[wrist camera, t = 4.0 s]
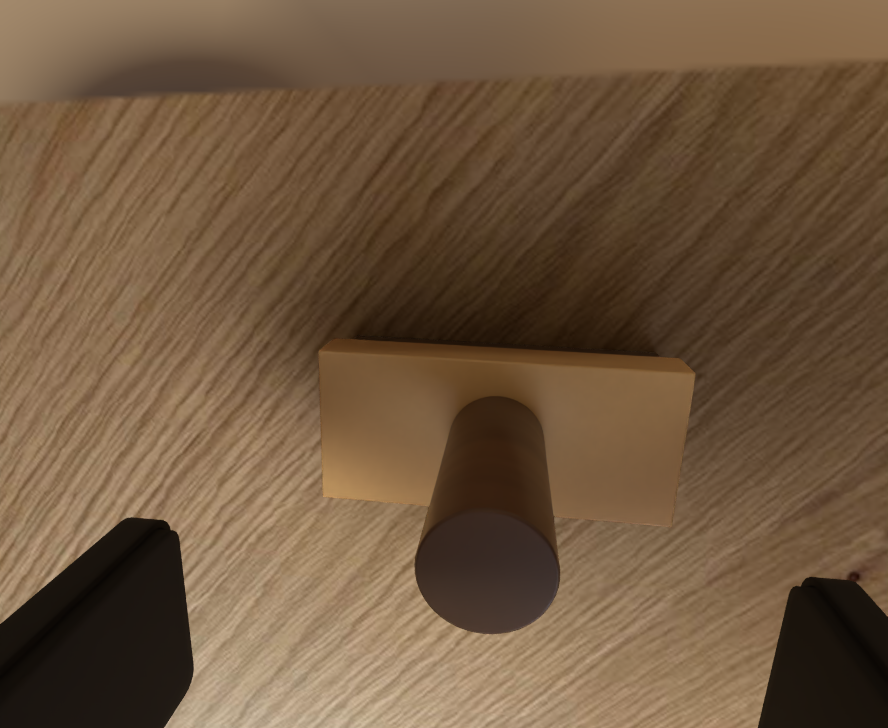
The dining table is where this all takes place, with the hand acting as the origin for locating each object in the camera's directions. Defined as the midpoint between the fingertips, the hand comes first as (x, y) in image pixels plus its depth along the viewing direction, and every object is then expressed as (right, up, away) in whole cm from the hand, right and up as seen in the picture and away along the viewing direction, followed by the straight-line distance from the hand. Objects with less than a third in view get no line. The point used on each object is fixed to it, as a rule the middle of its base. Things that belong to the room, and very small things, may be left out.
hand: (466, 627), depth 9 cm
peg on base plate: (+1, +3, +10) cm, 11 cm away
